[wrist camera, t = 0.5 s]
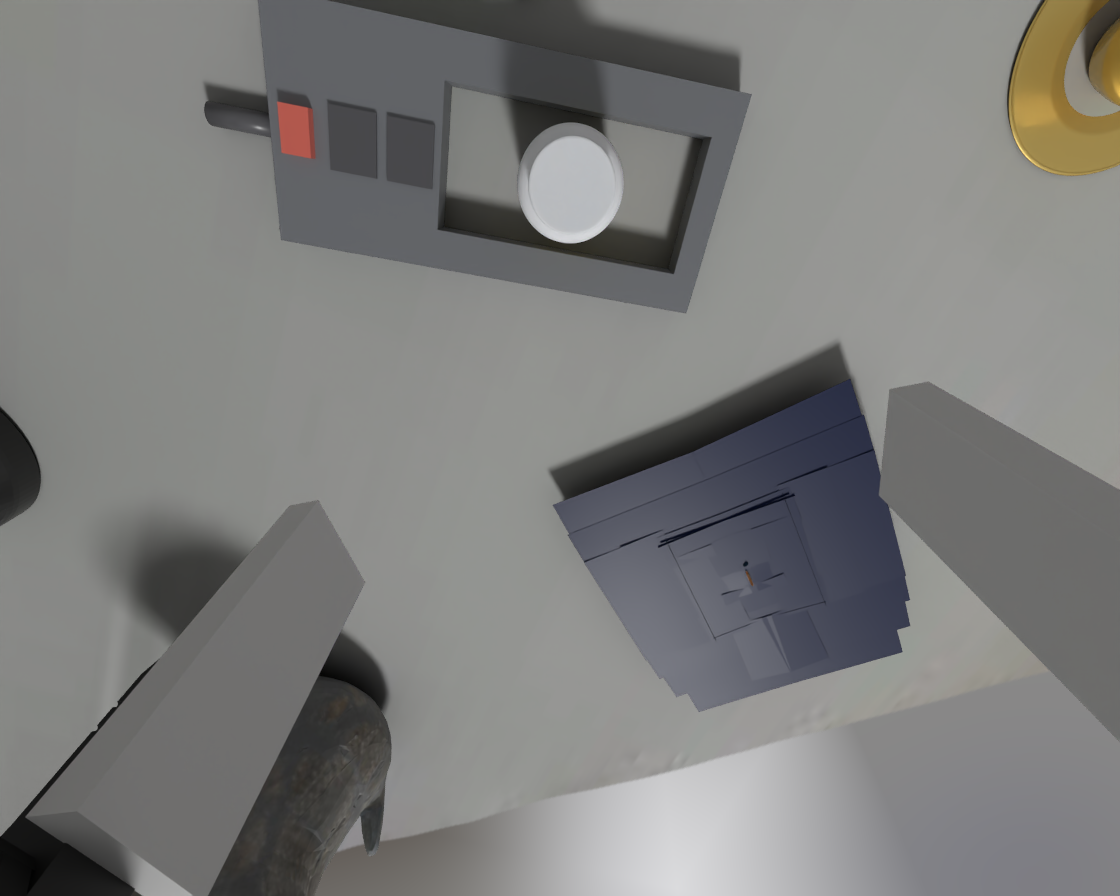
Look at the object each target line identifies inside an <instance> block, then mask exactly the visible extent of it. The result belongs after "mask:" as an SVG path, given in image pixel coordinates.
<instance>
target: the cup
mask: <svg viewBox="0 0 1120 896" xmlns="http://www.w3.org/2000/svg"><path fill="white" fill-rule="evenodd" d="M1109 1H1110V0H1045V1H1044V3H1043V4H1042V6H1041V8H1040V9H1039V11H1038V13H1037V14H1036V16H1035V18H1034V20H1033V22H1032V23H1031V25H1030V27H1029V29H1028V31H1027V34H1026V36H1025V38H1024V40H1023V43H1022V45H1021V48H1020V50H1019V53H1018V56H1017V59H1016V62H1015V66H1014V69H1013V74H1012V78H1011V84H1010V91H1009V119H1010V125H1011V130H1012V133H1013V136H1014V139H1015V141H1016V143H1017V145H1018V147H1019V149H1020V150H1021V152H1022V153H1023V154H1024V156H1025V157H1026V158H1027V159H1028V160H1029V161H1030V162H1032V163H1033V164H1034V165H1036V166H1037V167H1039V168H1041V169H1043V170H1045V171H1047V172H1050V173H1054V174H1059V175H1067V176H1077V175H1086V174H1092V173H1096V172H1100V171H1104V170H1107V169H1110V168H1112V167H1115V166H1117V165H1120V111H1118V112H1116V113H1113V114H1110V115H1106V116H1100V117H1090V116H1085V115H1082V114H1080V113H1078V112H1077V111H1076V110H1074V109H1073V108H1072V106H1071V105H1070V104H1069V102H1068V100H1067V97H1066V94H1065V89H1064V75H1065V69H1066V64H1067V61H1068V58H1069V55H1070V52H1071V50H1072V48H1073V46H1074V44H1075V42H1076V40H1077V38H1078V36H1079V35H1080V33H1081V32H1082V30H1083V29H1084V27H1085V26H1086V25H1087V23H1088V22H1089V21H1090V19H1091V18H1092V17H1093V16H1094V15H1095V14H1096V13H1097V12H1098V11H1099V10H1100V9H1101V8H1102V7H1103V6H1104V5H1105V4H1106V3H1107V2H1109ZM1089 79H1090V82H1091V85H1092V86H1093V88H1094V89H1095V90H1096V91H1097V92H1098V93H1100V94H1101V95H1102V96H1103V97H1105V98H1106V99H1107V100H1109V101H1110V102H1112V103H1114V104H1116V105H1118V106H1120V18H1119V19H1117V20H1116V21H1115V22H1114V23H1113V24H1112V25H1111V26H1110V27H1109V28H1108V29H1107V31H1106V32H1105V33H1104V34H1103V36H1102V37H1101V39H1100V40H1099V42H1098V43H1097V45H1096V47H1095V49H1094V51H1093V54H1092V56H1091V60H1090V64H1089Z"/></svg>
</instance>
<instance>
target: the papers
mask: <svg viewBox="0 0 1120 896" xmlns="http://www.w3.org/2000/svg"><path fill="white" fill-rule="evenodd" d="M880 479H881V475H880V471H879V467H878V463H877V459H876V455H875V451H874V449H873V445H872V442H871V438H870V435H869V431H868V428H867V424H866V421H865V417H864V415H861V412H860V408H859V405H858V402H857V399H856V396H855V393H854V390H853V387H852V384H851V380H850V379H849V380H847V381H845V382H842V383H840V384H838V385H836V386H834V387H832V388H829V389H827V390H825V391H823V392H821V393H819V394H817V395H814V396H812V397H810V398H808V399H806V400H804V401H801V402H799V403H797V404H795V405H793V406H791V407H789V408H786V409H784V410H782V411H780V412H778V413H776V414H773V415H771V416H769V417H767V418H765V419H763V420H761V421H758V422H756V423H754V424H752V425H750V426H748V427H745V428H743V429H741V430H739V431H737V432H735V433H733V434H730V435H728V436H726V437H724V438H722V439H720V440H717V441H715V442H713V443H711V444H709V445H707V446H704V447H702V448H700V449H698V450H696V451H694V452H691V453H689V454H686V455H683V456H681V457H678V458H675V459H673V460H670V461H667V462H665V463H662V464H660V465H657V466H654V467H652V468H649V469H646V470H644V471H641V472H638V473H636V474H633V475H631V476H628V477H625V478H623V479H620V480H617V481H615V482H612V483H609V484H607V485H604V486H602V487H599V488H596V489H594V490H591V491H588V492H586V493H583V494H580V495H578V496H575V497H573V498H570V499H567V500H565V501H562V502H559V503H557V504H554V505H553V506H554V508H555V510H556V511H557V513H558V515H559V517H560V519H561V520H562V522H563V524H564V526H565V528H566V529H567V531H568V533H569V535H568V536H569V538H570V539H571V541H572V543H573V544H574V546H575V548H576V549H577V551H578V553H579V554H580V556H581V558H582V559H583V561H584V563H585V565H586V566H587V568H588V569H589V571H590V573H591V574H592V576H593V577H594V579H595V581H596V582H597V584H598V585H599V587H600V588H601V590H602V592H603V593H604V595H605V596H606V598H607V599H608V601H609V603H610V604H611V606H612V607H613V609H614V611H615V612H616V614H617V615H618V617H619V618H620V620H621V622H622V623H623V625H624V626H625V628H626V630H627V631H628V633H629V634H630V636H631V637H632V639H633V641H634V642H635V644H636V645H637V647H638V648H639V650H640V652H641V653H642V655H643V656H644V658H645V660H647V661H648V662H649V664H650V665H651V667H652V668H653V670H654V671H655V673H656V674H657V676H658V677H659V679H661V678H664V679H665V681H666V682H667V683H668V685H669V686H670V688H671V689H672V691H673V692H674V694H675V695H676V697H678V696H681V695H684V694H688V695H689V697H690V698H691V700H692V702H693V703H694V705H695V706H696V708H697V710H698V711H699V712H700V711H703V710H707V709H710V708H713V707H716V706H720V705H723V704H726V703H730V702H733V701H736V700H739V699H743V698H746V697H749V696H753V695H756V694H759V693H763V692H766V691H769V690H772V689H776V688H779V687H782V686H786V685H789V684H792V683H795V682H799V681H802V680H806V679H810V678H813V677H817V676H820V675H824V674H827V673H831V672H834V671H838V670H841V669H845V668H848V667H852V666H855V665H859V664H862V663H866V662H869V661H873V660H877V659H880V658H884V657H887V656H891V655H894V654H898V653H901V652H902V648H901V644H900V640H899V636H898V633H897V629H901V628H904V627H908V626H910V623H909V618H908V613H907V609H906V604H905V601H908V600H910V598H909V594H908V589H907V585H906V580H905V576H906V574H905V570H904V566H903V562H902V558H901V554H900V550H899V546H898V542H897V538H896V534H895V530H894V526H893V523H892V519H891V515H890V511H889V507H888V504H887V503H886V502H885V501H884V500H883V499H882V498H881V497H880V496H879V489H880Z"/></svg>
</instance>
